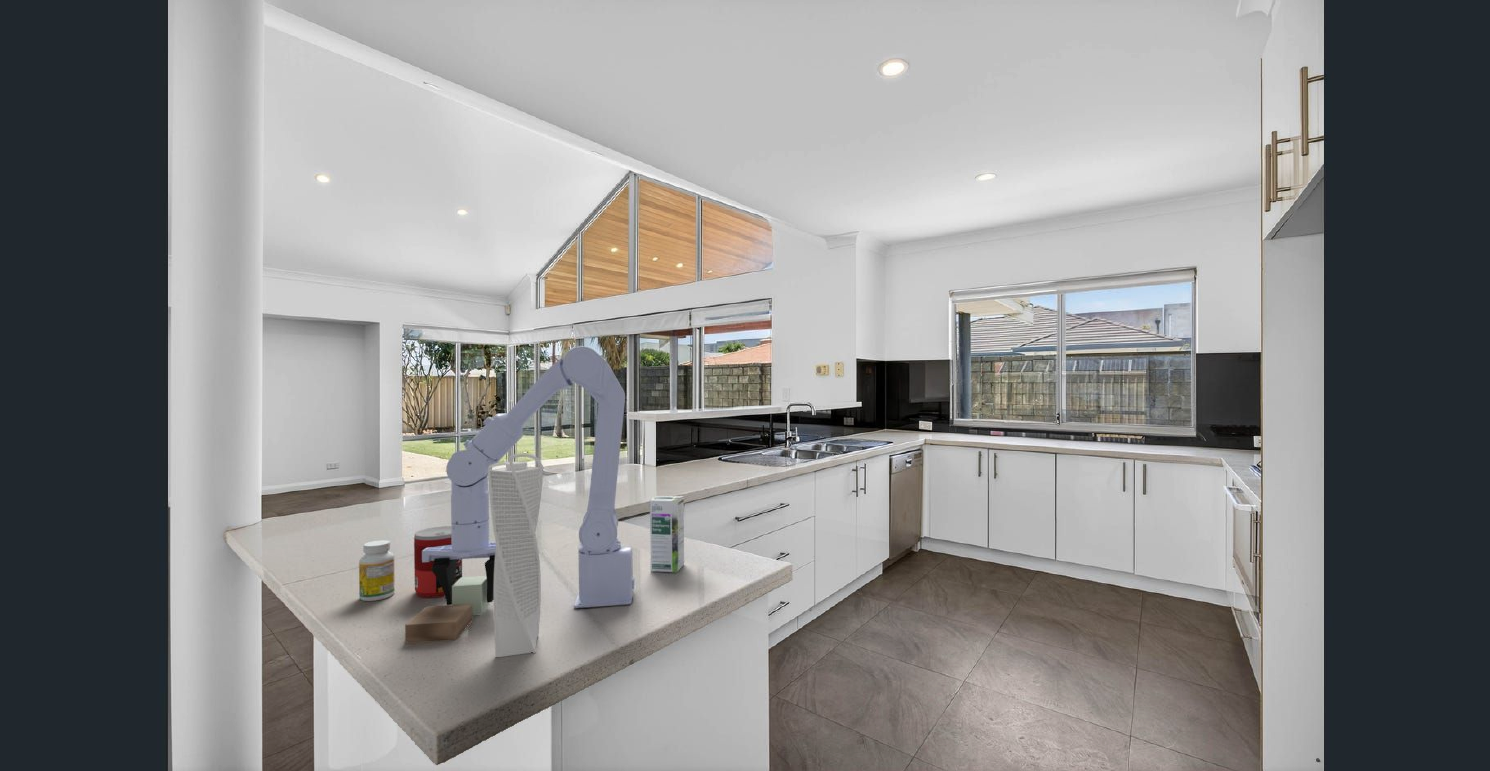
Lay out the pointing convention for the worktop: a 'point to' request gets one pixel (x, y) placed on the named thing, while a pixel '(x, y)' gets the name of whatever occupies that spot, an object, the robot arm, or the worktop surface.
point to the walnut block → (438, 623)
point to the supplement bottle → (376, 571)
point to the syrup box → (667, 533)
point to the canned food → (424, 576)
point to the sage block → (471, 593)
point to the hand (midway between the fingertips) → (471, 601)
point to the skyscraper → (516, 554)
